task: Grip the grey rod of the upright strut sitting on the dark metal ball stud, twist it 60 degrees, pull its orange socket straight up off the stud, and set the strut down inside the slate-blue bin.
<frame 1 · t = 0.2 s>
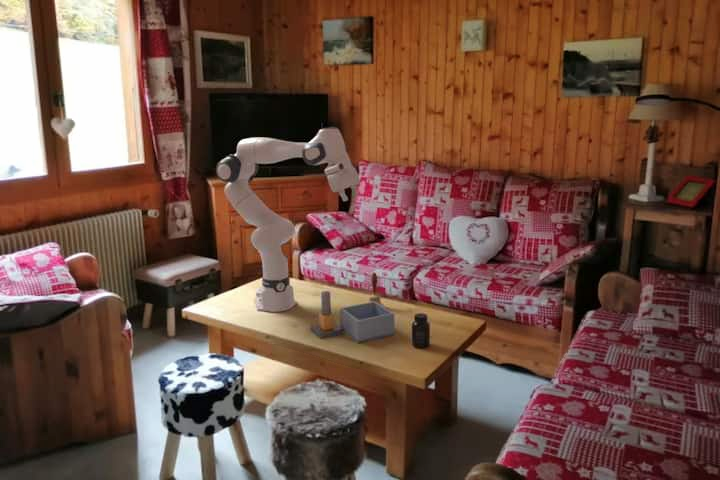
hand: (350, 198, 237), 51 cm above the table, tool tilted 20°, fingers open, 8 cm apart
hand bell: (374, 307, 262), on the table
ball stud base: (326, 331, 236), on the table
supplement bottle: (420, 345, 222), on the table
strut: (326, 327, 236), point 2 cm above the table, touching ball stud base
bin: (367, 331, 235), on the table
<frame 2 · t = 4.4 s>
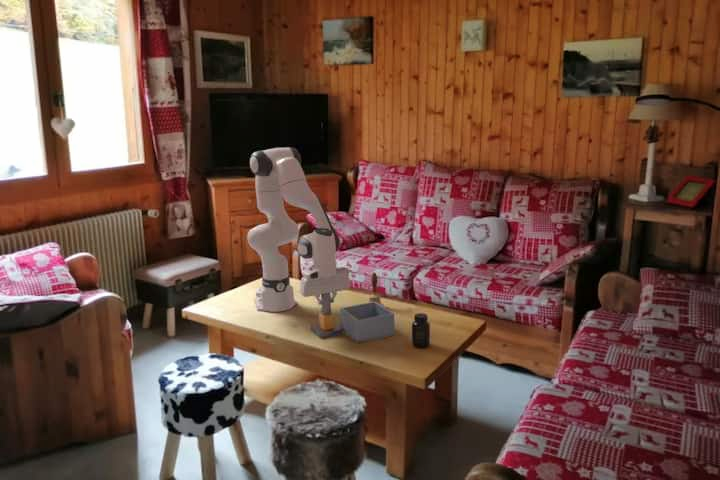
hand: (326, 303, 233), 12 cm above the table, tool pointing down, fingers closed on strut, 4 cm apart
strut: (326, 327, 236), point 2 cm above the table, touching ball stud base, gripper
everything else where it was.
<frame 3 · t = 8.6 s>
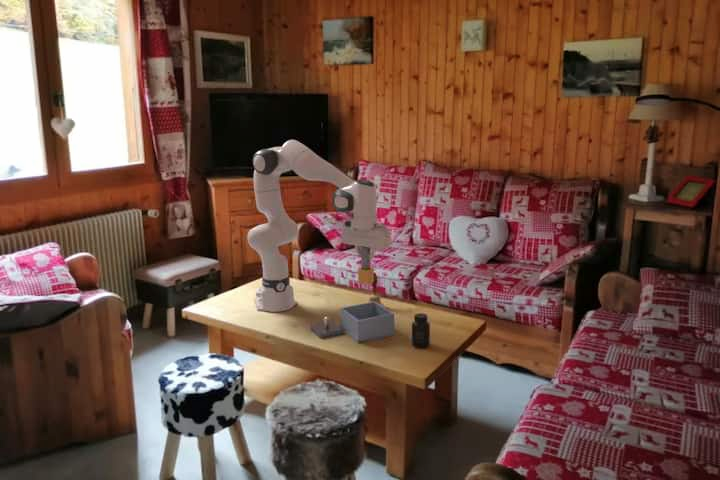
hand: (365, 257, 228), 31 cm above the table, tool pointing down, fingers closed on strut, 4 cm apart
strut: (366, 282, 230), point 21 cm above the table, touching gripper
everything else where it was.
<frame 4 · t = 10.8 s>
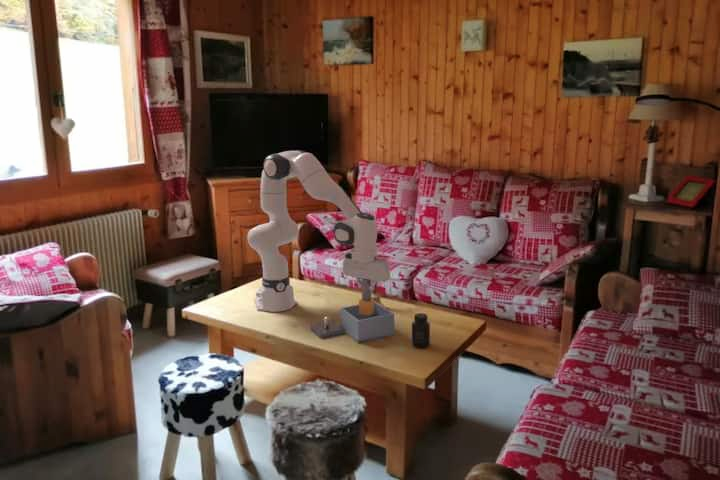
hand: (366, 288, 231), 18 cm above the table, tool pointing down, fingers closed on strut, 4 cm apart
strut: (366, 313, 233), point 8 cm above the table, touching gripper
everything else where it was.
when the fingers open (13 cm above the table, at t = 12.6 s): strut drops 2 cm, resting on bin.
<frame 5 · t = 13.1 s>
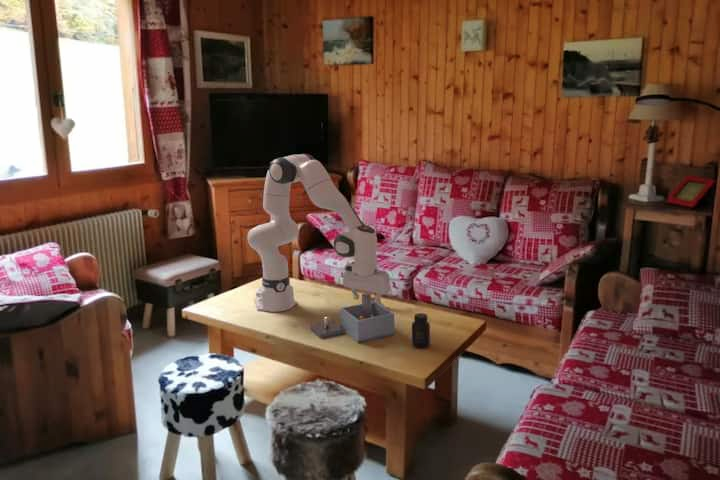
hand: (366, 301, 232), 13 cm above the table, tool pointing down, fingers open, 8 cm apart
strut: (366, 329, 235), point 1 cm above the table, touching bin
everything else where it was.
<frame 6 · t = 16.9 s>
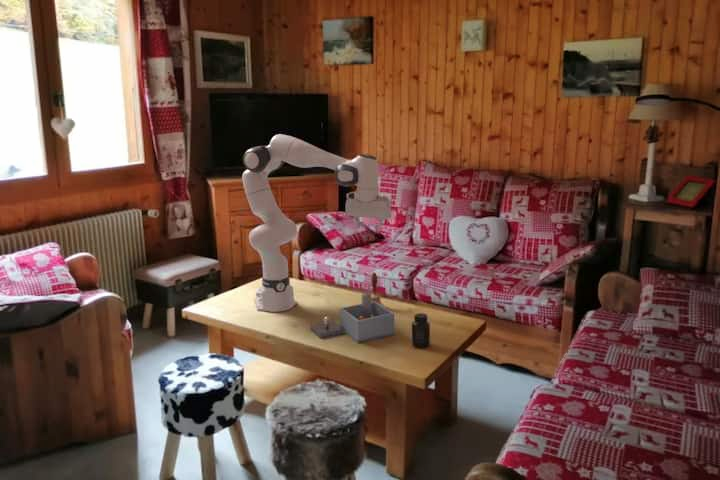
hand: (368, 228, 240), 39 cm above the table, tool pointing down, fingers open, 8 cm apart
nothing on the table moved.
at the end: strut inside the target area on the bin (0.1 cm from its centre), point 1.0 cm above the bin's base; the gripper is holding nothing; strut touching bin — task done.
